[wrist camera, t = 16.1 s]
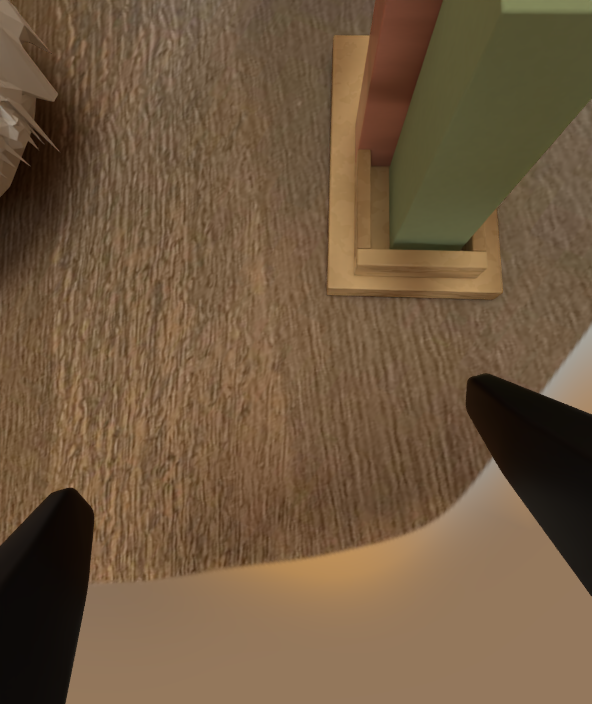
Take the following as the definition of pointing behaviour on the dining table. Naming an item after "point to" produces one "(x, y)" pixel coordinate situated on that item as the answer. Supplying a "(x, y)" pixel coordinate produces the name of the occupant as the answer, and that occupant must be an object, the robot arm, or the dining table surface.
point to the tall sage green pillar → (485, 113)
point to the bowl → (18, 91)
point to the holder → (373, 169)
